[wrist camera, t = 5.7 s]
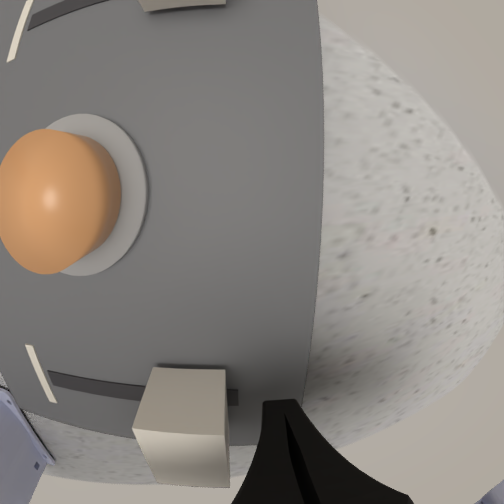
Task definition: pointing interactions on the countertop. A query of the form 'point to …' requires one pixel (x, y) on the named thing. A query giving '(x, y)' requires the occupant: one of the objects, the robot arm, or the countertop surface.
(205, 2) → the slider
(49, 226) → the button
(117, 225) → the panel
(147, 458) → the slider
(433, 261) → the countertop surface
